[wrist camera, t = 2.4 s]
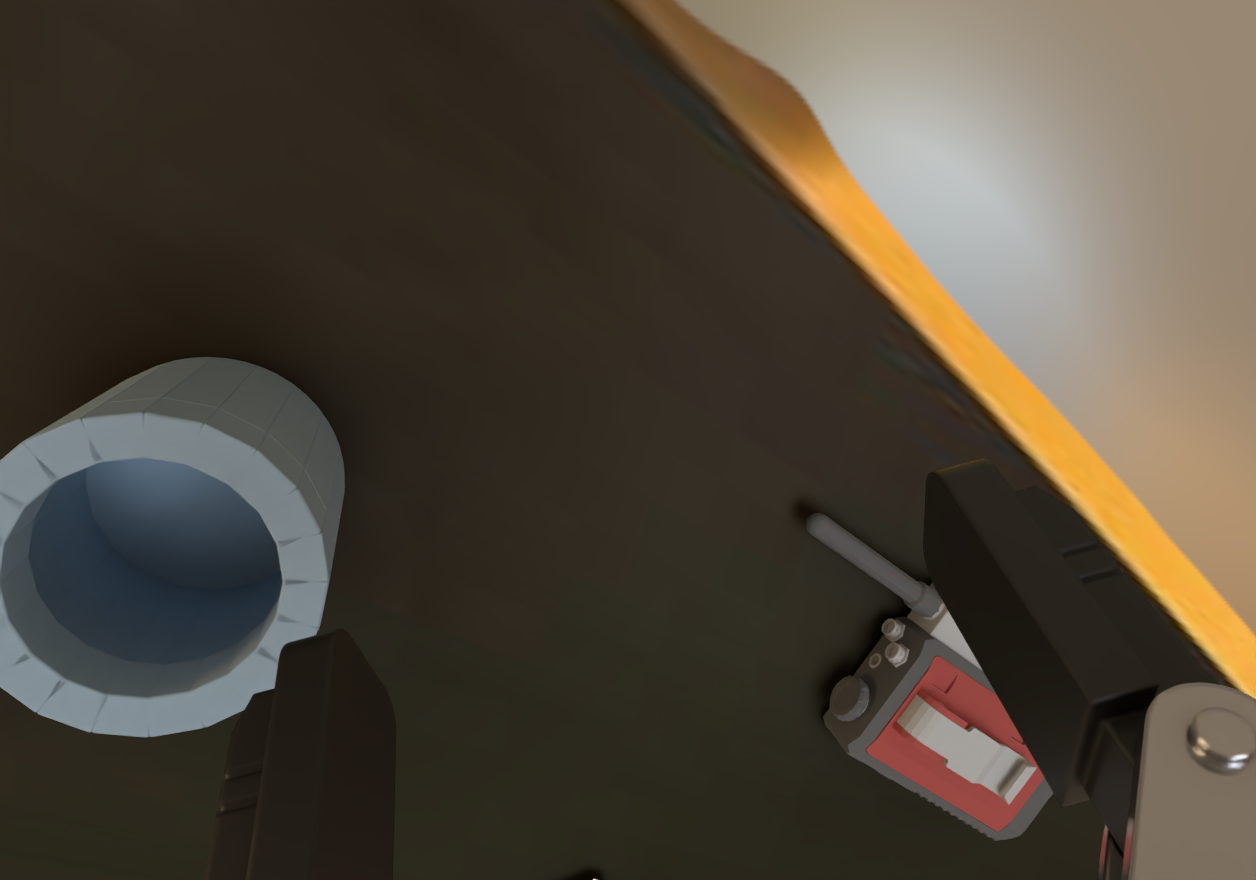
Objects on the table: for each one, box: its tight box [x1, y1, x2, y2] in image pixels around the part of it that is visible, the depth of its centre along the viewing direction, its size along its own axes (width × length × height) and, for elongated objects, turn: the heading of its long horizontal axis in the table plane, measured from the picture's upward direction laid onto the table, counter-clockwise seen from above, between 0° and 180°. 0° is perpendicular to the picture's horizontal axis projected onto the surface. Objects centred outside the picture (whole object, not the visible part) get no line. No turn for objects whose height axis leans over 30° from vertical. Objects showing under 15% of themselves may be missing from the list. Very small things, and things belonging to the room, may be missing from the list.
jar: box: [0, 357, 345, 737], centre depth 28 cm, size 9×9×10 cm
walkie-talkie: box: [806, 513, 1053, 841], centre depth 40 cm, size 9×4×20 cm
